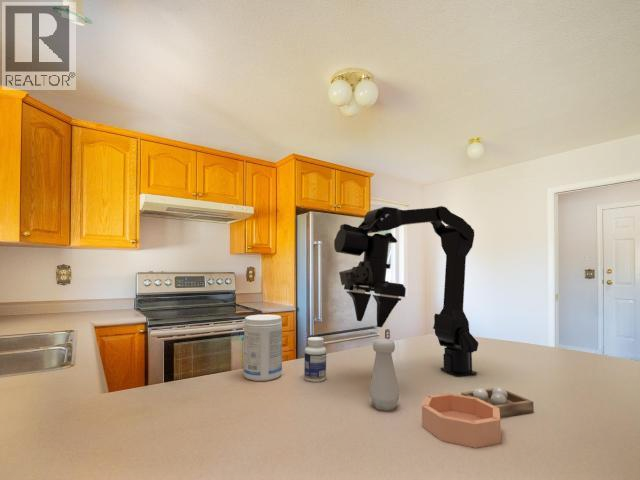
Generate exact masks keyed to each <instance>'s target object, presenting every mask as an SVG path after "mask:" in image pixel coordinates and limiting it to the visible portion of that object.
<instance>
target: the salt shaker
mask: <svg viewBox="0 0 640 480" xmlns="http://www.w3.org/2000/svg"><path fill="white" fill-rule="evenodd" d="M372 349H373V351H374V352H375V358H374V362H373V369H372V375H371V381H370V388H369V397H370V400H371V402H372V406H373V407H374V408H376V409H377V410H379V411H385V412H389V411H392V410H395V409H396V407H397V404H398V401H400V400H399V399H400V389H399V385H398V380H397V379H398V378H397V375H396V371H395V365H394V361H393V355H392V354H393V353H394V352H395V350H396V344H395V341H393V340H392V339H390V338H383V337H382V338H380V337H379V338H376V339H375V340H374V341H373V343H372Z"/></svg>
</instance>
